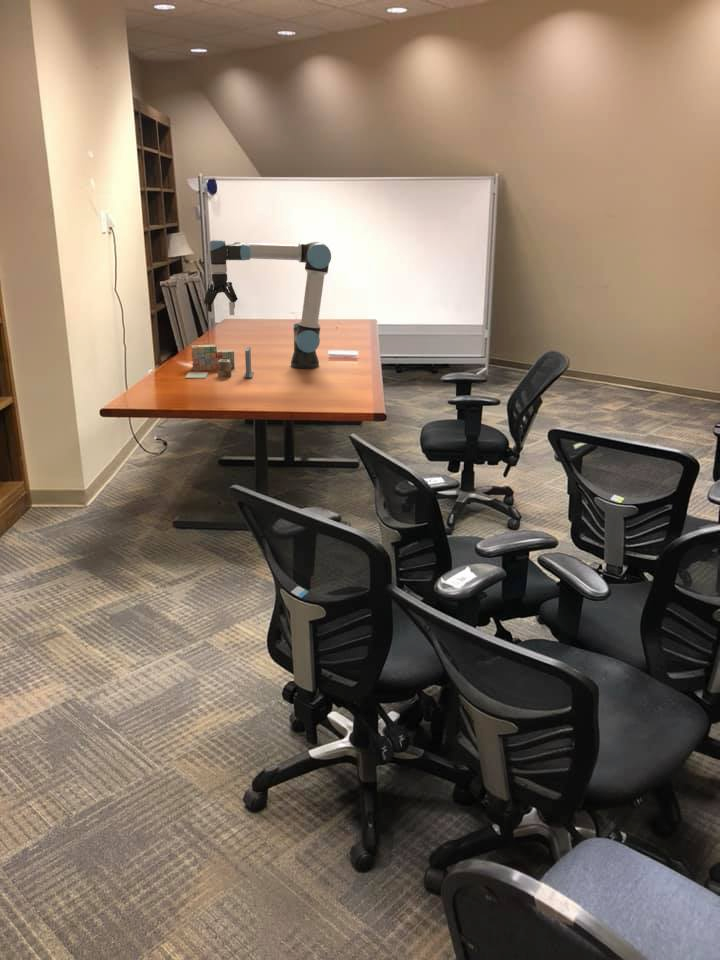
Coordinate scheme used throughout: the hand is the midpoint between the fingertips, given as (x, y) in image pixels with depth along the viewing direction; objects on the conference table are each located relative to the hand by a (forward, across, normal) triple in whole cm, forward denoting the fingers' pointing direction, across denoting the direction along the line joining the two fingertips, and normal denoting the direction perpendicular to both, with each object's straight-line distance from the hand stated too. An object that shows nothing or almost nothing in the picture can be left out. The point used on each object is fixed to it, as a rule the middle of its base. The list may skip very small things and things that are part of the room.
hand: (222, 316), depth 383 cm
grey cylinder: (+29, +6, +6) cm, 30 cm away
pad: (+28, +15, -5) cm, 32 cm away
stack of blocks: (+29, -3, -12) cm, 31 cm away
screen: (+29, -2, +15) cm, 32 cm away
